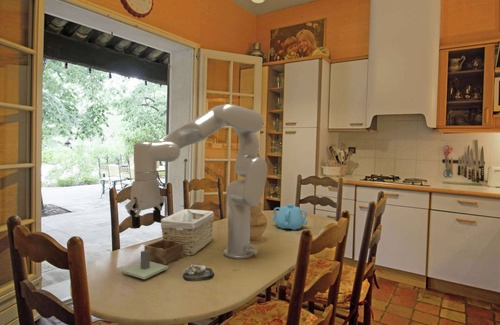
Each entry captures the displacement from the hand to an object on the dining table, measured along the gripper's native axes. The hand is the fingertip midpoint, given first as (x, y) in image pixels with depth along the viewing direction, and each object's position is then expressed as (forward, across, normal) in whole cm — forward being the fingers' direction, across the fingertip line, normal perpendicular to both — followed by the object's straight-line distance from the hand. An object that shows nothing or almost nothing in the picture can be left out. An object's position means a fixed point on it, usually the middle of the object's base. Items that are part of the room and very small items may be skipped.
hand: (147, 224), depth 114 cm
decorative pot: (+20, -87, +20) cm, 91 cm away
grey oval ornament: (+19, -8, +17) cm, 26 cm away
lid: (+18, +1, -1) cm, 18 cm away
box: (+18, -13, -4) cm, 22 cm away
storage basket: (+19, -30, -7) cm, 36 cm away
